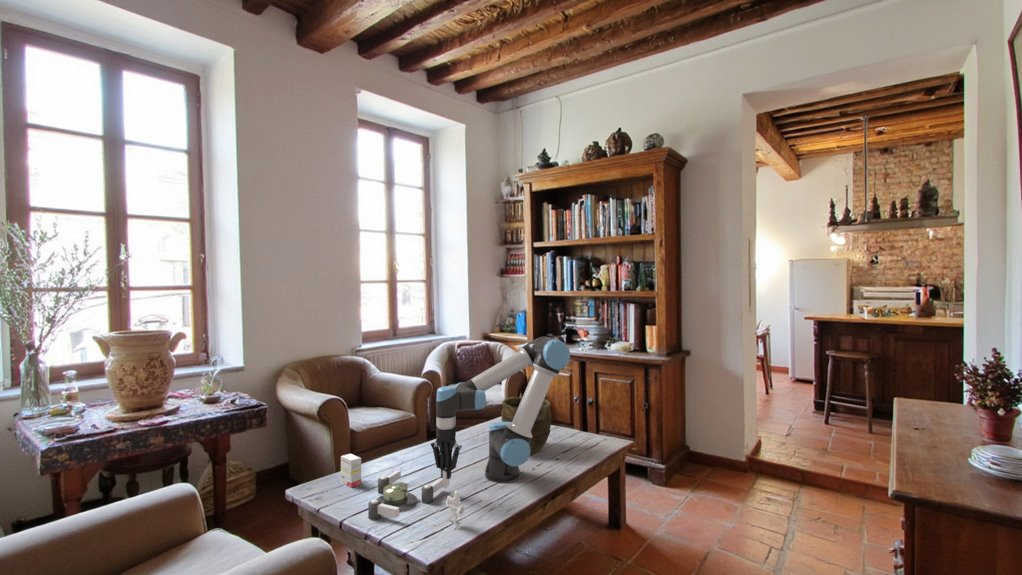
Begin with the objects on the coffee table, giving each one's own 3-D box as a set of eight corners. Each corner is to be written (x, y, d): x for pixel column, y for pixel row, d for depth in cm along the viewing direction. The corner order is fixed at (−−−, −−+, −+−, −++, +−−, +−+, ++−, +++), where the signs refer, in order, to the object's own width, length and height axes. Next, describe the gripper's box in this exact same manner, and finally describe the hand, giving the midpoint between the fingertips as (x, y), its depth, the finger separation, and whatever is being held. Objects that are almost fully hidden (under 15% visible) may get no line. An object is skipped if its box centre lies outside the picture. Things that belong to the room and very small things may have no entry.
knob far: (384, 494, 190) (384, 480, 190) (375, 492, 191) (375, 478, 191) (403, 482, 201) (403, 469, 201) (394, 481, 203) (394, 467, 203)
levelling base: (436, 501, 186) (436, 483, 186) (400, 529, 164) (400, 509, 164) (382, 489, 196) (382, 472, 196) (341, 514, 175) (341, 496, 175)
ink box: (362, 485, 200) (361, 457, 199) (351, 489, 196) (351, 460, 196) (350, 480, 205) (350, 452, 205) (340, 483, 202) (340, 455, 201)
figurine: (449, 519, 171) (449, 486, 171) (469, 526, 166) (469, 492, 166) (440, 525, 167) (440, 491, 167) (461, 532, 162) (461, 497, 162)
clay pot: (560, 447, 245) (560, 399, 245) (535, 463, 224) (535, 410, 223) (517, 439, 259) (517, 392, 258) (491, 453, 237) (491, 402, 237)
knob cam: (365, 518, 171) (365, 502, 171) (373, 512, 175) (373, 497, 175) (393, 525, 166) (393, 509, 166) (401, 519, 170) (401, 503, 170)
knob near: (429, 504, 181) (429, 489, 181) (419, 502, 183) (419, 487, 183) (446, 491, 193) (446, 477, 192) (436, 489, 194) (436, 475, 194)
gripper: (465, 426, 189) (465, 485, 190) (436, 422, 195) (436, 480, 195) (455, 431, 183) (455, 493, 183) (426, 427, 188) (426, 487, 188)
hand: (446, 486), depth 189 cm, fingers closed
